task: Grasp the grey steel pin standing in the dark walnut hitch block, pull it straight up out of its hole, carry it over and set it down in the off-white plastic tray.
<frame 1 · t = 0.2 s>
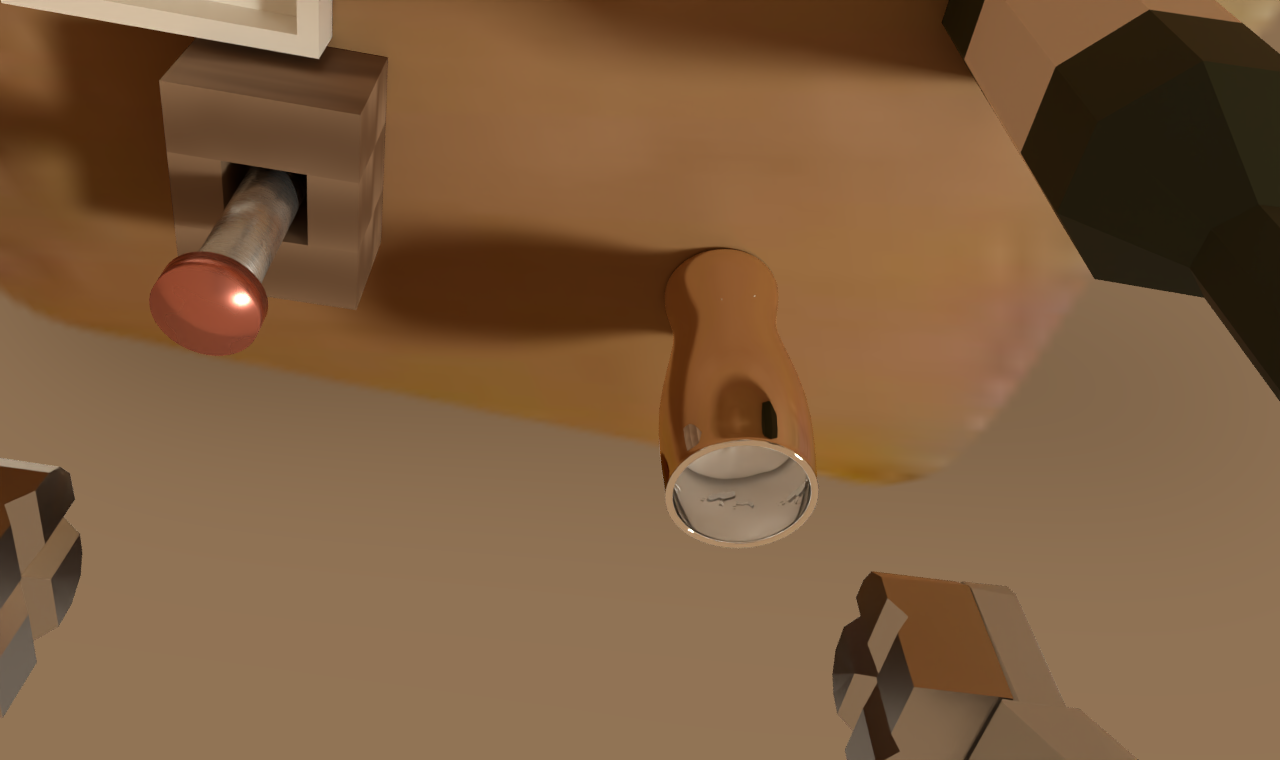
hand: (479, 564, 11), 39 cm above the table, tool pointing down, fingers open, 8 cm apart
pin: (258, 217, 45), in the hitch block
beer glass: (720, 293, 56), on the table
hitch block: (300, 141, 50), on the table
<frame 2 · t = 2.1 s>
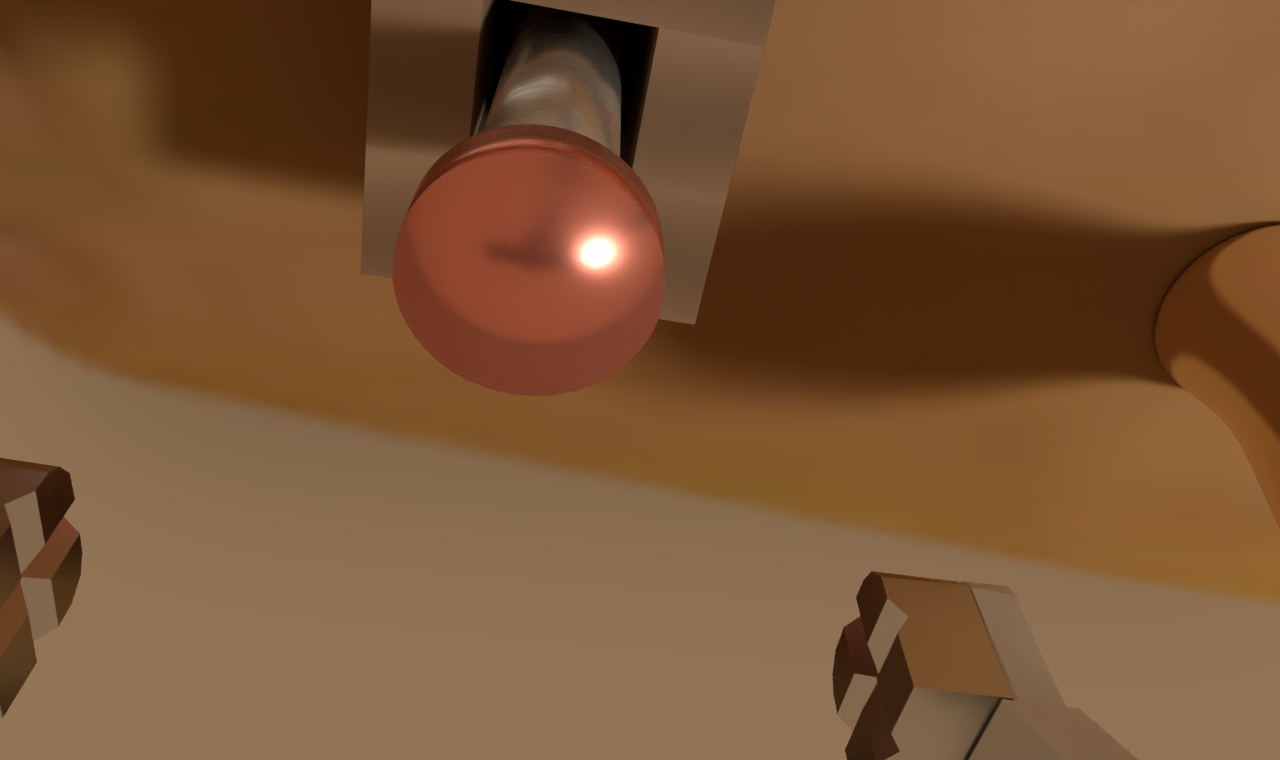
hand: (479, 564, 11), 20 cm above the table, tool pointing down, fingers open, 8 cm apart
pin: (556, 115, 21), in the hitch block
beer glass: (1251, 308, 32), on the table
hitch block: (572, 19, 27), on the table
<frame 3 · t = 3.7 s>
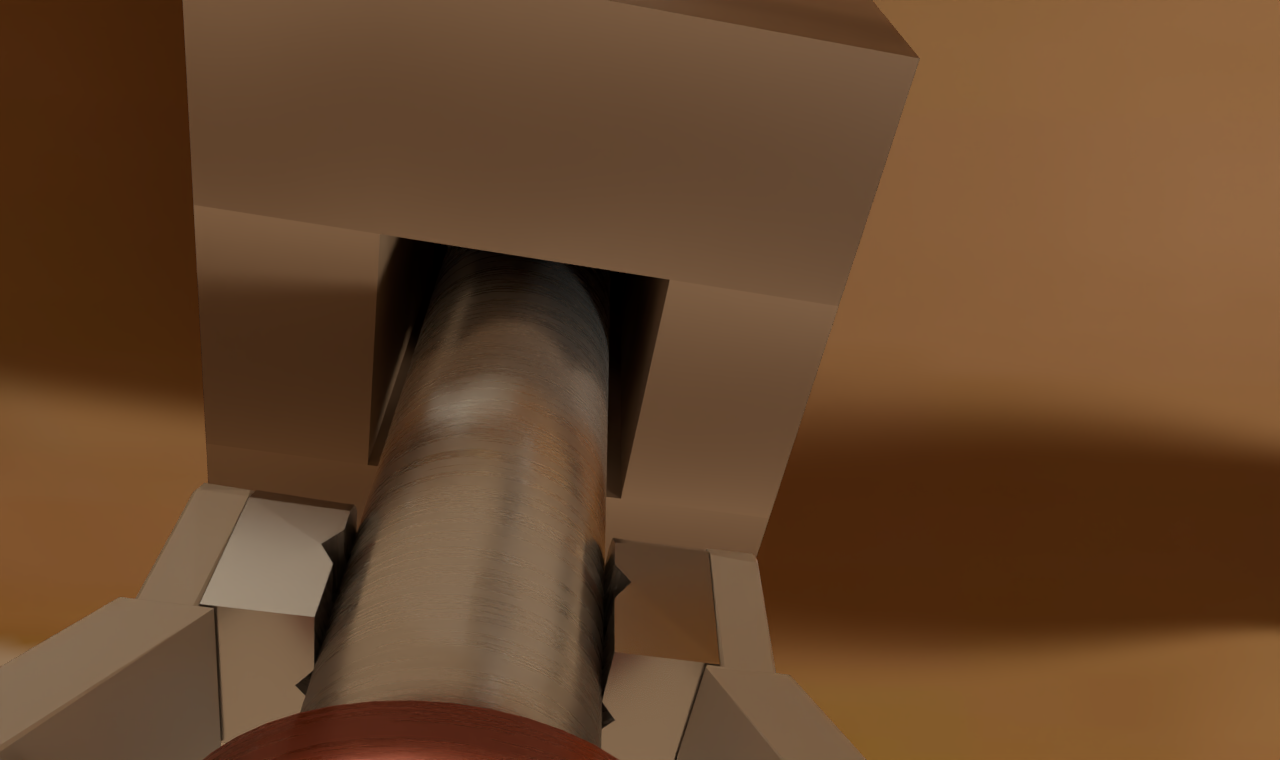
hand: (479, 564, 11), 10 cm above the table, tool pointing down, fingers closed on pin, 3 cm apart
pin: (502, 425, 13), in the hitch block, touching gripper
hitch block: (540, 196, 19), on the table
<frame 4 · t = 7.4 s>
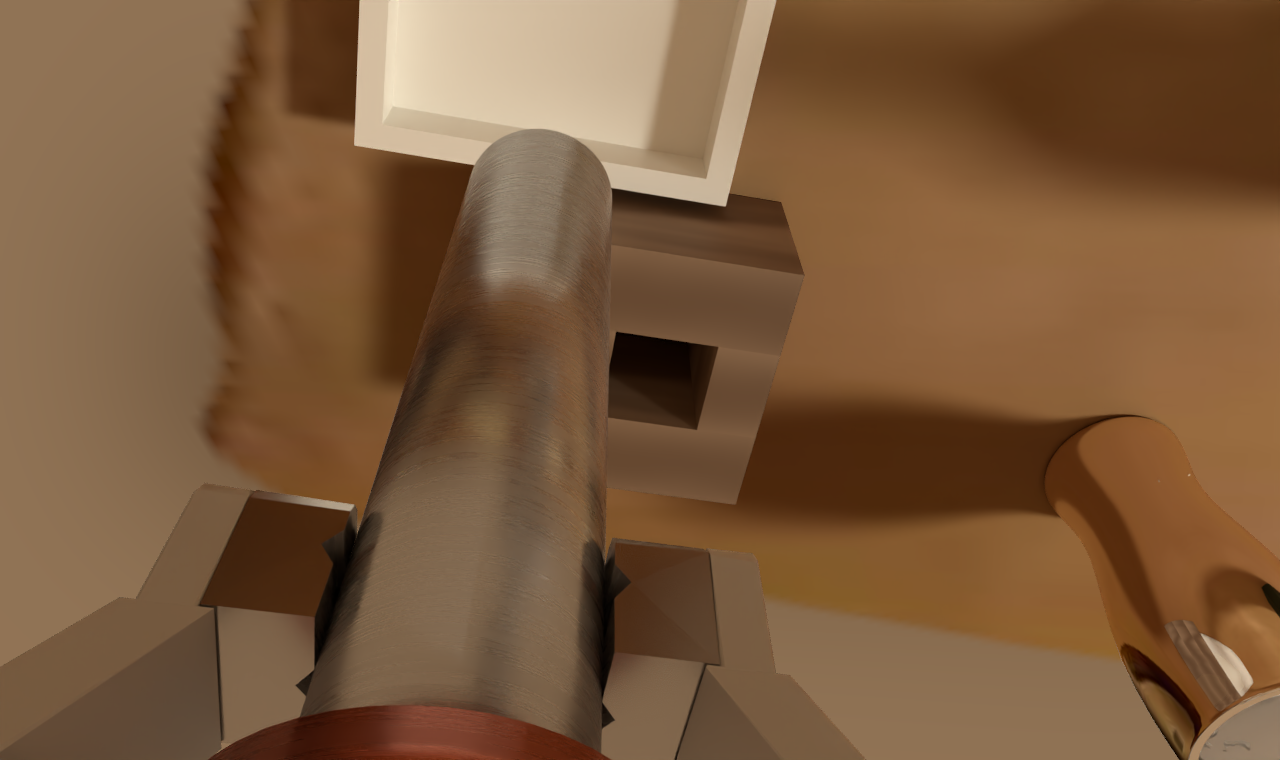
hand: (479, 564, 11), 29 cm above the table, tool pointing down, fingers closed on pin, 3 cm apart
pin: (502, 428, 13), point 26 cm above the table, touching gripper
beer glass: (1109, 467, 47), on the table
hitch block: (653, 300, 42), on the table
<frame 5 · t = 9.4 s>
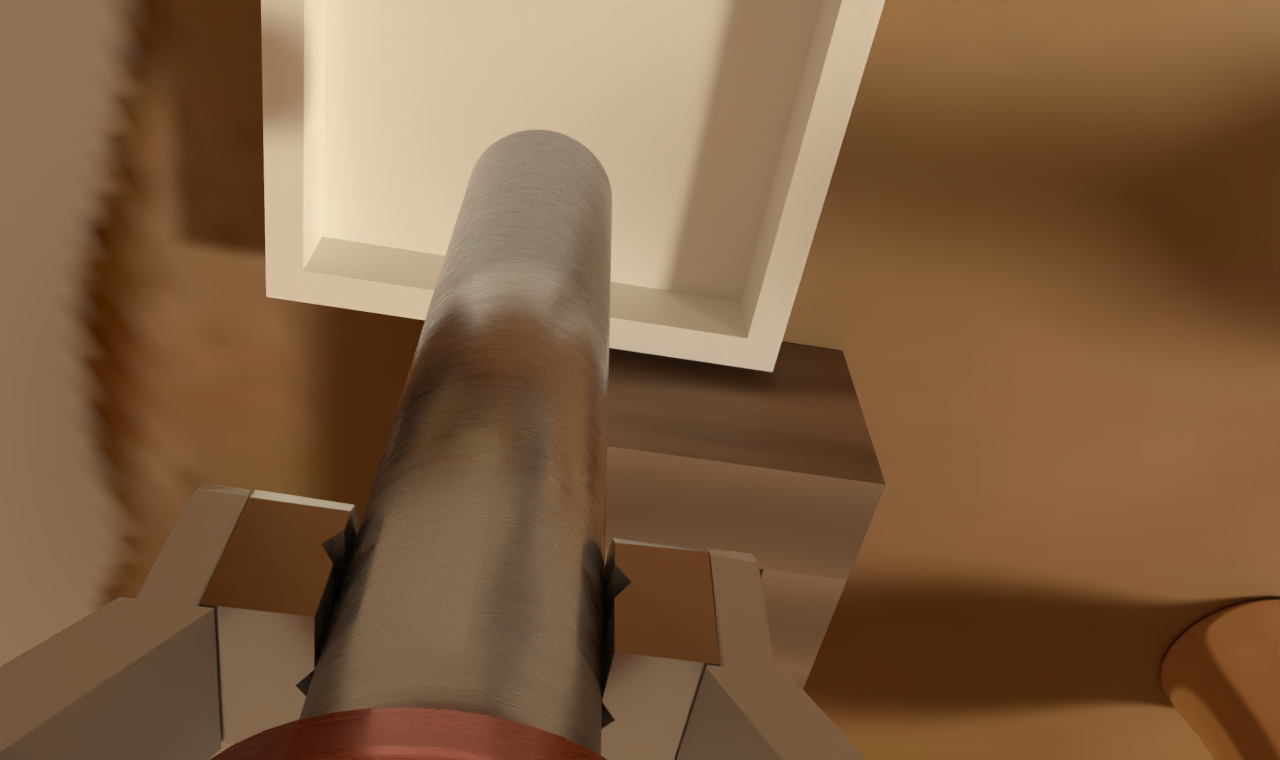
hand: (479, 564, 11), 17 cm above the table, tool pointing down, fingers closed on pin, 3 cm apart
pin: (502, 429, 13), point 15 cm above the table, touching gripper
beer glass: (1243, 653, 38), on the table
tray: (566, 55, 25), on the table
hitch block: (672, 467, 32), on the table
when the fingers open (11 cm above the table, at t = 10.9 s): pin drops 1 cm, resting on tray.
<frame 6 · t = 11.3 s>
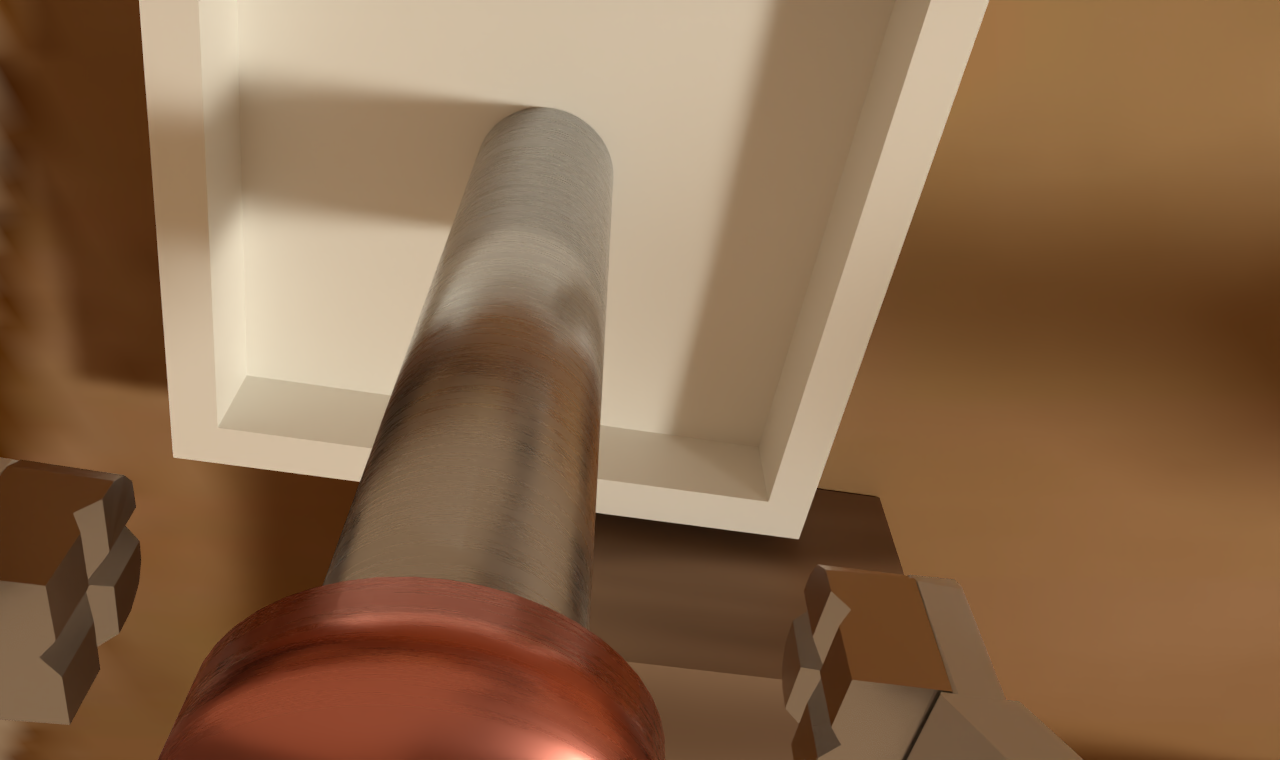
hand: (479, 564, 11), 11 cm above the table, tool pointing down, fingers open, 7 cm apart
pin: (504, 376, 14), in the tray, point 8 cm above the table
tray: (545, 161, 20), on the table
hitch block: (674, 623, 27), on the table
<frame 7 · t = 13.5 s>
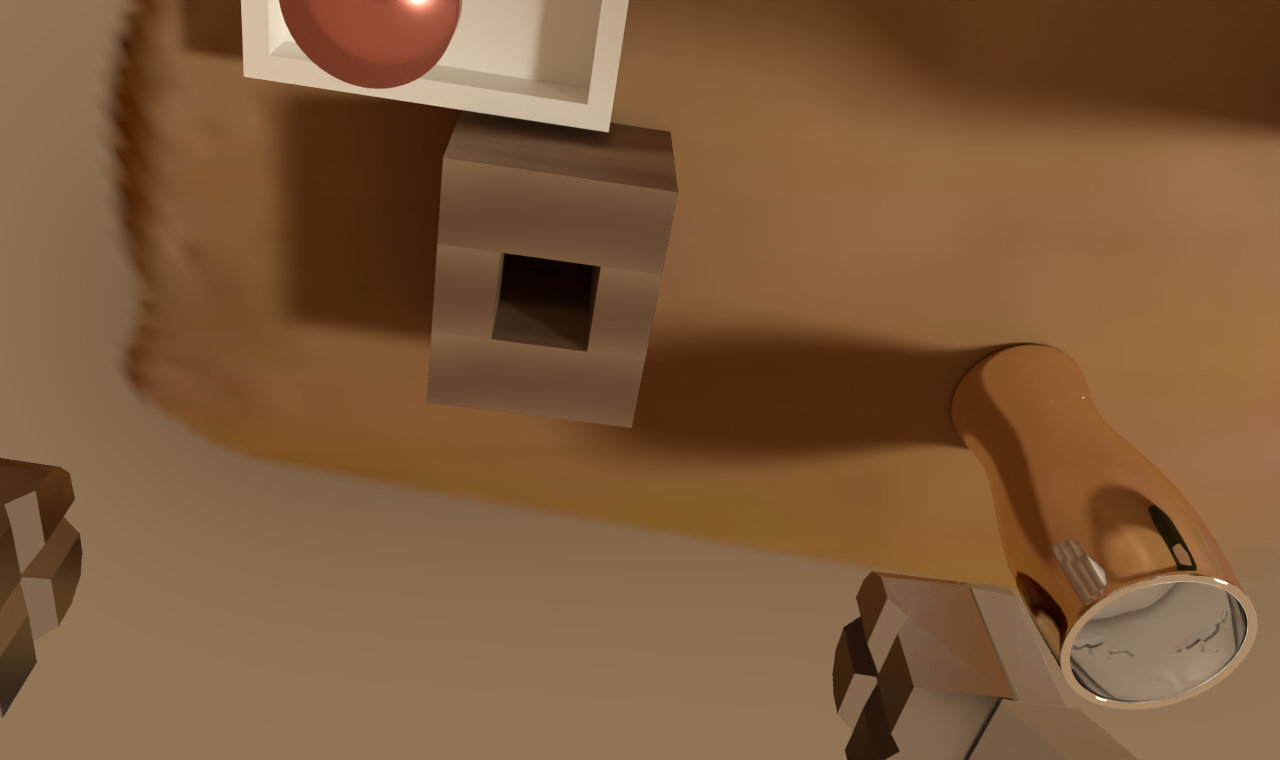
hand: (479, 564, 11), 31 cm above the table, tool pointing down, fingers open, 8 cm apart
beer glass: (1015, 397, 48), on the table
hitch block: (553, 233, 43), on the table
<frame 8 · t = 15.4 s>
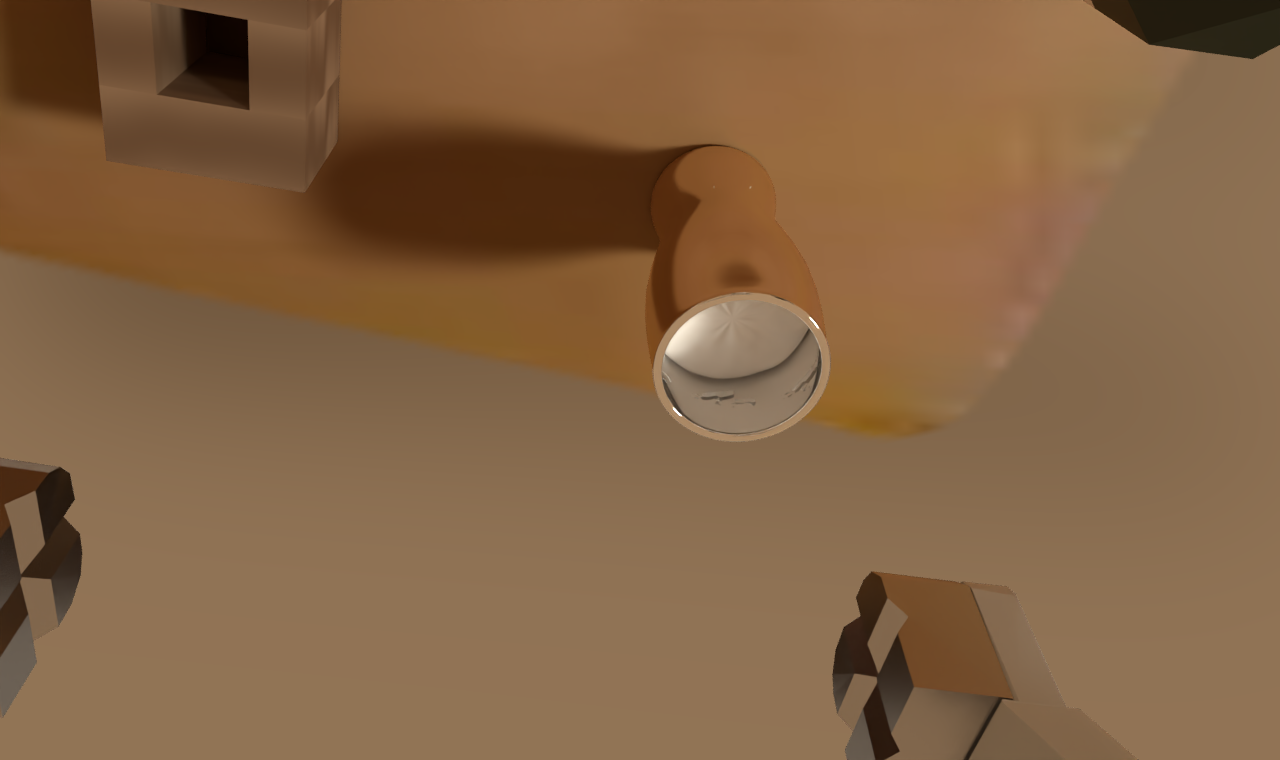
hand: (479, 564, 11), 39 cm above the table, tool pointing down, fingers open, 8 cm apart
beer glass: (712, 202, 51), on the table
hitch block: (247, 17, 46), on the table
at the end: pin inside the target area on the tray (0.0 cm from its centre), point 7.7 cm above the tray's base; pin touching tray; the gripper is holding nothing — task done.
